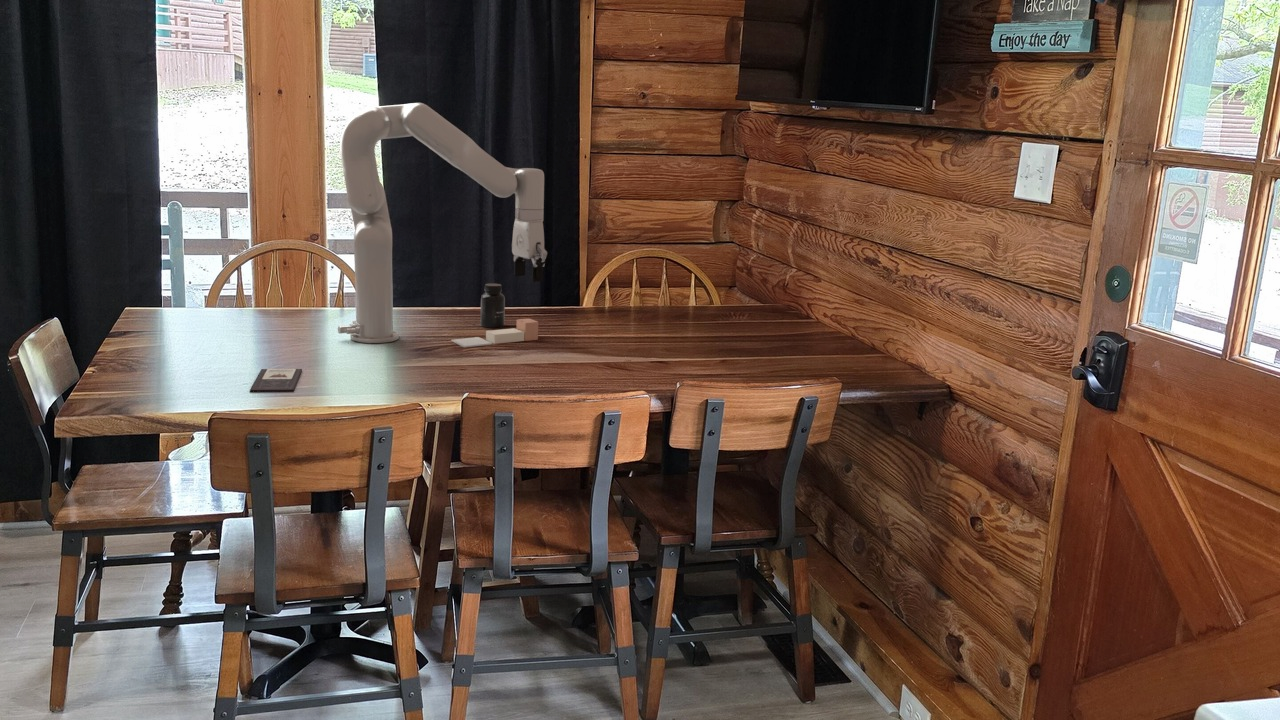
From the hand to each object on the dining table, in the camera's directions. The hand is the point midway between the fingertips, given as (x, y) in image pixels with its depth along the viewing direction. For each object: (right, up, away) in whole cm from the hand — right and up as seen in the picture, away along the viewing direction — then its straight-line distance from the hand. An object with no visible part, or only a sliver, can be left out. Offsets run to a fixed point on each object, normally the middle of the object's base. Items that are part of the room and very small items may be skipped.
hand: (528, 278), depth 285 cm
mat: (-15, -18, -5) cm, 23 cm away
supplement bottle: (-12, -12, +17) cm, 24 cm away
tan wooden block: (-1, -16, +4) cm, 17 cm away
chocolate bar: (-51, -27, -49) cm, 76 cm away
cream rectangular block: (-6, -17, 0) cm, 18 cm away
